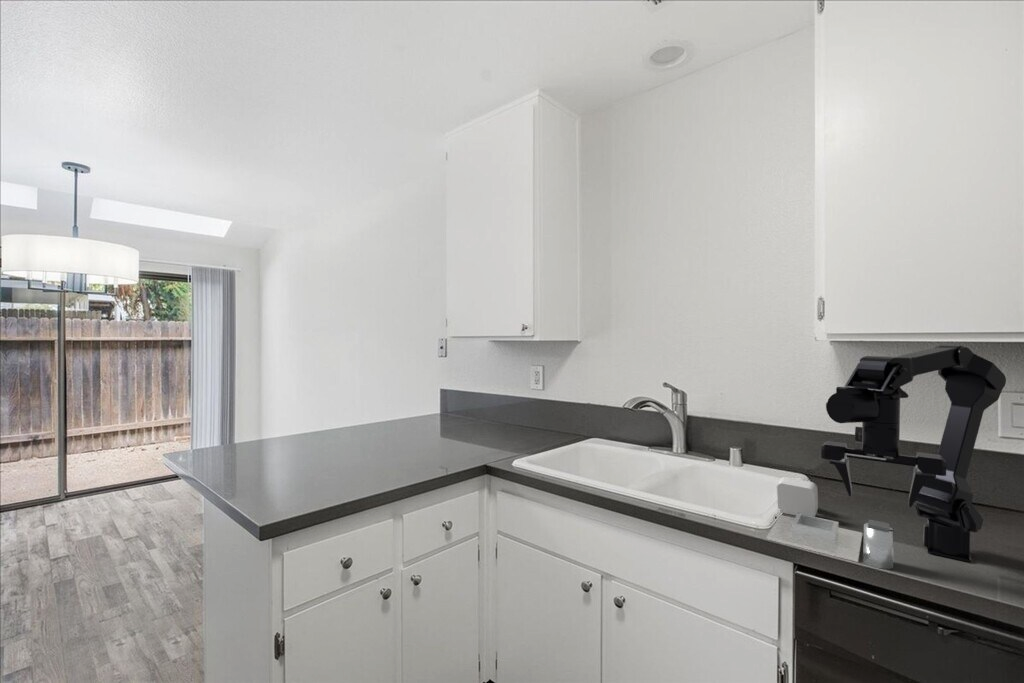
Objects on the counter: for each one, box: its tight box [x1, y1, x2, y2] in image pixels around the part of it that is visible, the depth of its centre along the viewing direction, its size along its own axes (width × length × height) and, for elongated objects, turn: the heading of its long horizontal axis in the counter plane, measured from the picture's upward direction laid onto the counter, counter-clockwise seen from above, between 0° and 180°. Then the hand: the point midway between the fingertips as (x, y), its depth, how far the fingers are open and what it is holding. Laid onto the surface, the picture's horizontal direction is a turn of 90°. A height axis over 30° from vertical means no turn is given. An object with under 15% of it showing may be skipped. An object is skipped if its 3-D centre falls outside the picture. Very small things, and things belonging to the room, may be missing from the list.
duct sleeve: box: [862, 519, 895, 570], centre depth 92 cm, size 5×5×8 cm
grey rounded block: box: [776, 476, 819, 517], centre depth 119 cm, size 8×10×10 cm
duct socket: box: [766, 513, 863, 563], centre depth 104 cm, size 16×16×3 cm
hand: (879, 501), depth 92 cm, fingers open, 9 cm apart
